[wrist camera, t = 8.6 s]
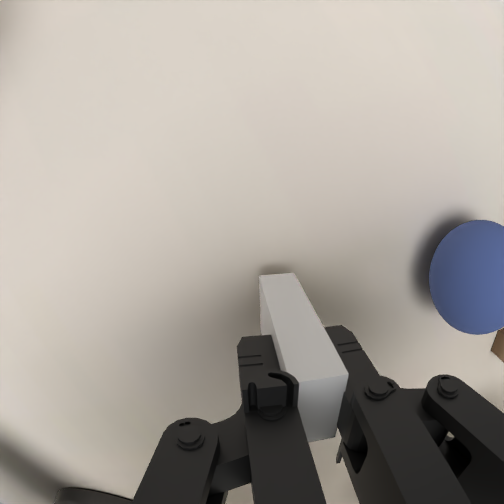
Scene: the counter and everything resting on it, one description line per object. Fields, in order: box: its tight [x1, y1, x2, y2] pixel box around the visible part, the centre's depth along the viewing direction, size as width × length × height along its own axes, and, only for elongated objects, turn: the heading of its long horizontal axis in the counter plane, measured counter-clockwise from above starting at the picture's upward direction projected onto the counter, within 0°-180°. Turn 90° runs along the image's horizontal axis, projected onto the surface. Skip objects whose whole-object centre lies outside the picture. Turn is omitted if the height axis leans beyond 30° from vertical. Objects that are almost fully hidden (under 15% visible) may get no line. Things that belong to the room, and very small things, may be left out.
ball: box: [429, 220, 504, 335], centre depth 13 cm, size 6×6×6 cm
